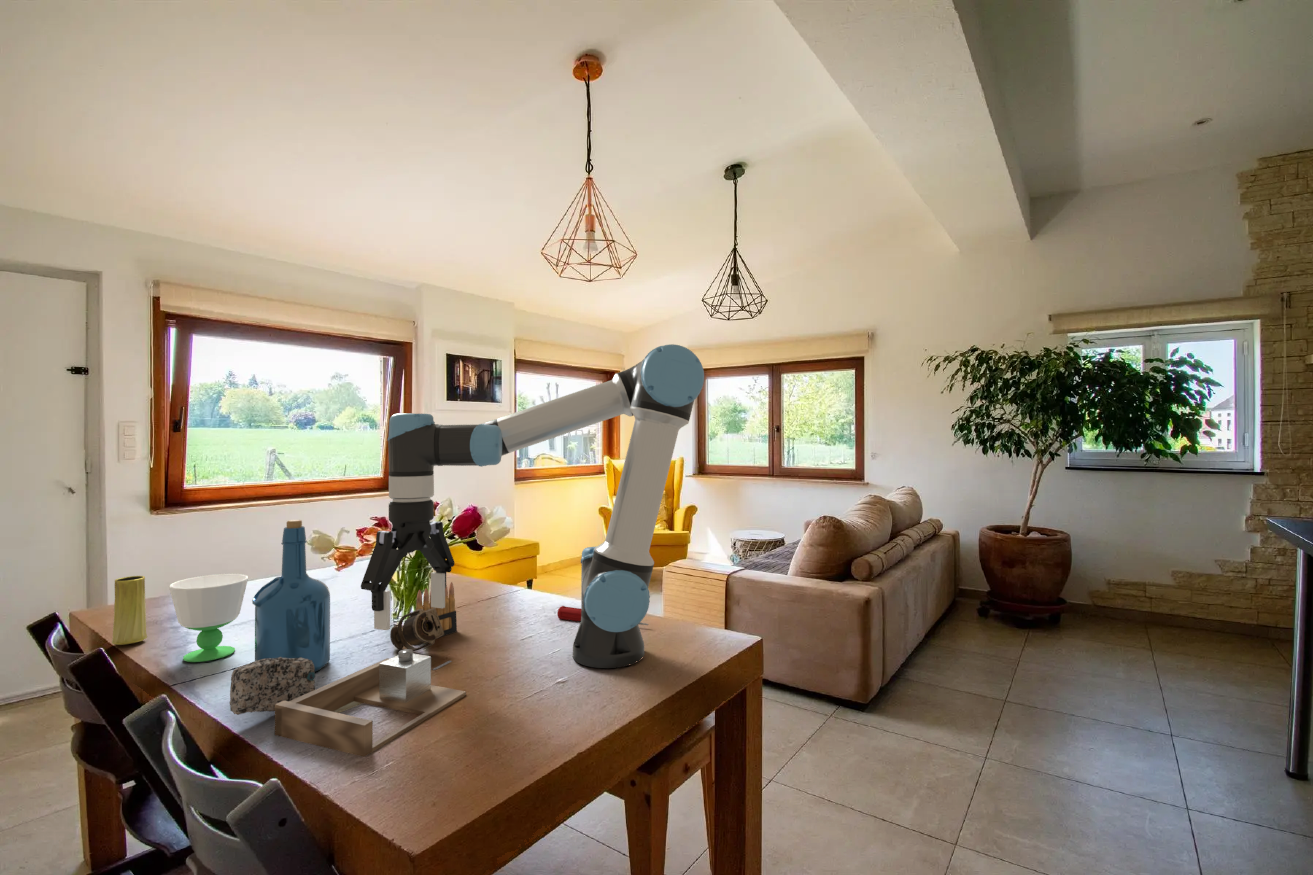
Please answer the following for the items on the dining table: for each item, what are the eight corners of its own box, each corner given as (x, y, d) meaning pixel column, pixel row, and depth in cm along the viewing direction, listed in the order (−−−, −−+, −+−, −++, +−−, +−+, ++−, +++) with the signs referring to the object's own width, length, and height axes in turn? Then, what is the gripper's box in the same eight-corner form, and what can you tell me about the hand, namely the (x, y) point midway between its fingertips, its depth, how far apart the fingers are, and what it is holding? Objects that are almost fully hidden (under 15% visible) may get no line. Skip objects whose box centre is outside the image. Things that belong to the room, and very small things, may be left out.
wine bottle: (320, 651, 130) (320, 514, 130) (339, 668, 120) (340, 520, 120) (245, 668, 120) (245, 520, 120) (259, 688, 110) (260, 527, 111)
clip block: (430, 689, 108) (430, 648, 108) (405, 702, 103) (406, 659, 103) (404, 684, 110) (405, 643, 110) (379, 697, 105) (379, 654, 105)
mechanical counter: (428, 662, 124) (428, 614, 124) (373, 657, 126) (373, 610, 126) (446, 650, 131) (447, 605, 131) (395, 646, 133) (395, 601, 133)
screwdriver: (645, 633, 143) (645, 619, 143) (556, 621, 152) (556, 607, 152) (651, 629, 146) (651, 615, 146) (563, 617, 156) (563, 603, 156)
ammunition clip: (418, 644, 135) (418, 591, 135) (413, 642, 136) (413, 590, 136) (457, 631, 144) (457, 581, 144) (452, 630, 145) (452, 580, 145)
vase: (105, 642, 135) (105, 579, 135) (137, 634, 140) (137, 574, 140) (121, 646, 132) (121, 582, 132) (153, 638, 138) (153, 576, 138)
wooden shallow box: (466, 697, 107) (466, 669, 107) (364, 759, 86) (364, 725, 86) (387, 681, 114) (387, 655, 114) (274, 736, 93) (274, 704, 93)
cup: (255, 653, 128) (256, 580, 128) (174, 672, 118) (175, 592, 118) (239, 639, 138) (240, 570, 138) (163, 654, 127) (163, 580, 128)
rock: (303, 653, 107) (319, 651, 105) (302, 705, 105) (318, 703, 103) (228, 663, 96) (244, 660, 94) (224, 721, 94) (241, 720, 92)
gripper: (442, 492, 120) (442, 597, 120) (336, 506, 96) (336, 636, 96) (473, 493, 117) (473, 601, 117) (372, 507, 94) (372, 642, 94)
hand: (411, 617), depth 107 cm, fingers open, 13 cm apart
